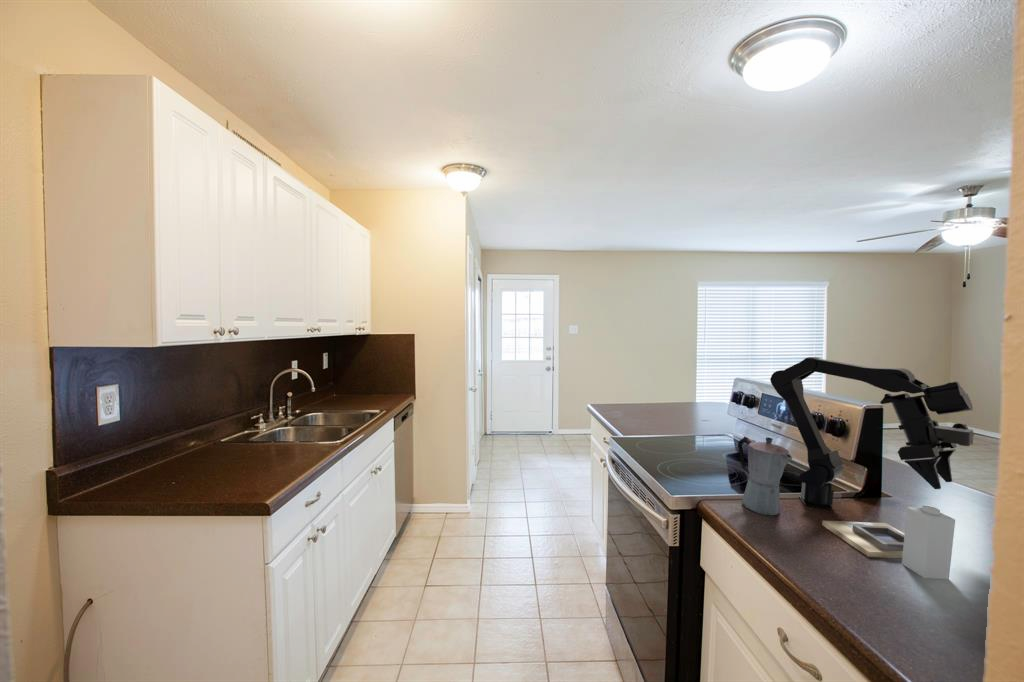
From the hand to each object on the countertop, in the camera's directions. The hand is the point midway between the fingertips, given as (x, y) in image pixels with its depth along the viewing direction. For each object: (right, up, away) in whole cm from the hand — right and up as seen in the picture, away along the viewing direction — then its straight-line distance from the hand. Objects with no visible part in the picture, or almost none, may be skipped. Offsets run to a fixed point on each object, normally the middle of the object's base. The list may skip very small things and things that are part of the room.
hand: (943, 485), depth 98 cm
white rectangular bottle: (-14, -15, -10) cm, 22 cm away
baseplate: (-14, -14, +2) cm, 20 cm away
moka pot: (-33, -12, +18) cm, 39 cm away
